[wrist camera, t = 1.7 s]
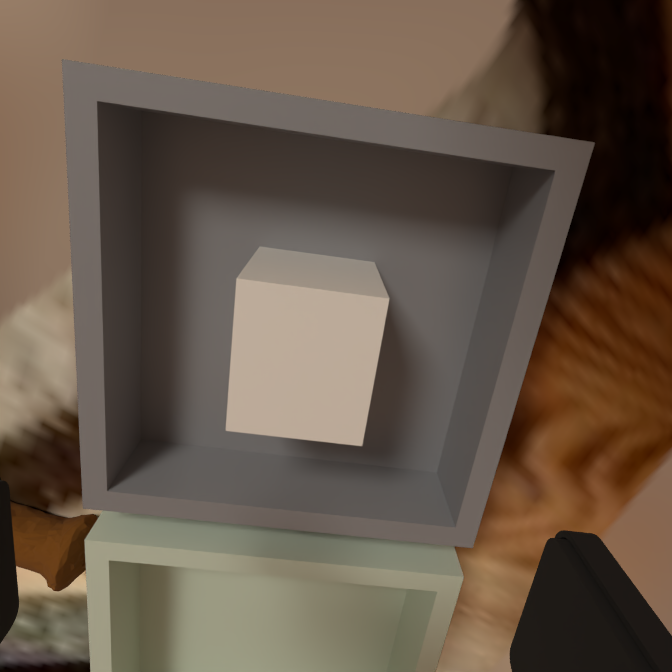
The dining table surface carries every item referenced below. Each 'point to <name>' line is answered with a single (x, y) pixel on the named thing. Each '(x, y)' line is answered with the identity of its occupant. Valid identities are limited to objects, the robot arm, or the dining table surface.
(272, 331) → the beige block
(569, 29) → the dining table surface
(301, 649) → the sage crate
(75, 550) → the primitive tool
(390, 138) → the charcoal bin
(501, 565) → the dining table surface
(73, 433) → the dining table surface
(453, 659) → the dining table surface
